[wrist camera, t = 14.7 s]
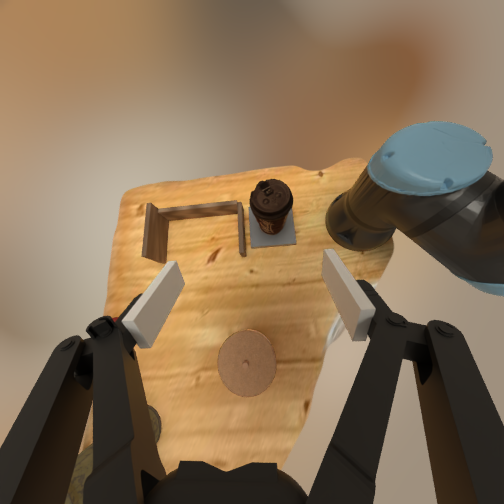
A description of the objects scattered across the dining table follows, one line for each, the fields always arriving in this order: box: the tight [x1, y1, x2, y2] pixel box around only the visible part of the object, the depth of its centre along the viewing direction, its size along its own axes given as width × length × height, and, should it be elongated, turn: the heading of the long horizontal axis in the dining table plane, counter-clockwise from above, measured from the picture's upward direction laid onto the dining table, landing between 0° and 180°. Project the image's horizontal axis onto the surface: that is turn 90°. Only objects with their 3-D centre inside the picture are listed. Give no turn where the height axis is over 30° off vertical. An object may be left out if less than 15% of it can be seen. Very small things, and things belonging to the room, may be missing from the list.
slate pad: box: [249, 207, 296, 248], centre depth 47 cm, size 11×11×1 cm
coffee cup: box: [250, 179, 293, 235], centre depth 40 cm, size 9×8×13 cm
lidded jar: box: [218, 329, 276, 397], centre depth 36 cm, size 11×11×9 cm
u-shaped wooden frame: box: [142, 200, 246, 263], centre depth 45 cm, size 22×13×8 cm, turn 93°
